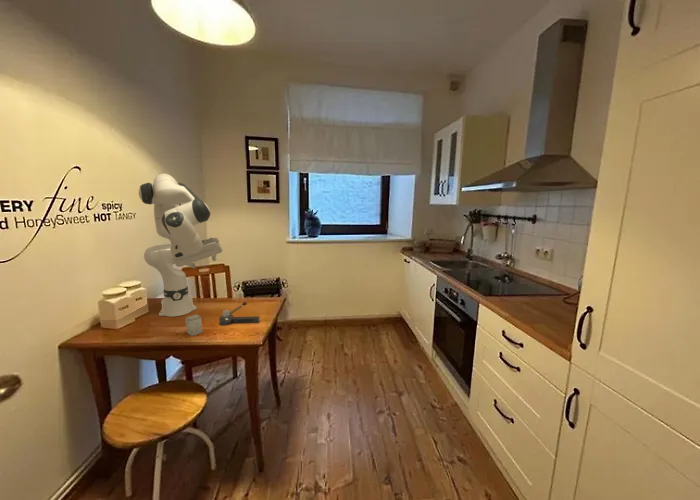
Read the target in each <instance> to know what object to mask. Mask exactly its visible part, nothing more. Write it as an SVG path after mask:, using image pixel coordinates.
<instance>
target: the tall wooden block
mask: <svg viewBox="0 0 700 500" xmlns="http://www.w3.org/2000/svg"><path fill="white" fill-rule="evenodd" d="M185 327H186V334H187V335H189V336H190V337H193V336H196V335H199V334H200V335H201V334H203V323H202V316H200V315H199V314H193V315H189V316H185Z"/></svg>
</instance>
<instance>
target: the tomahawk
mask: <svg viewBox="0 0 700 500" xmlns="http://www.w3.org/2000/svg"><path fill="white" fill-rule="evenodd" d="M246 304H247V301H245V302H243V303H242V304H241V305H244V306H246ZM241 305H239V306H238V307H236V308H235V309H232V310H231V311H230V315H233V313H235V312H236V311H238V310H240V309H241V308H242V306H241Z"/></svg>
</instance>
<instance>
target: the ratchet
mask: <svg viewBox="0 0 700 500" xmlns="http://www.w3.org/2000/svg"><path fill="white" fill-rule="evenodd" d="M230 312H231V311H230V310H229V309H224V310H222V315H221V316H219V318H218V321H219V325H220V326H230V325H233V324H235V325H237V324H239V325H240V324H259V323H260V316H259V315H258V316H234V315H233V314H231V315H230Z"/></svg>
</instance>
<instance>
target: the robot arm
mask: <svg viewBox="0 0 700 500" xmlns="http://www.w3.org/2000/svg"><path fill="white" fill-rule="evenodd" d="M138 197H139V199H140V200H141V202H142V203H144V204H146V205H153V217H154V223H155V229H156V233H157V235H158V236H160V237H161V238H165V239H168V240H169V242H170V243H169V244H160V245H154V246H150V247H147V248H146V249H145V251H144V255H143V258H144V261H145V263H146V264H147V265H149V266H150V267H152V268H154V269H156V270H157V271H158V272H159V273H160V275H161V278H162V282H163V288H164V289H163V296H164V297H163V298H162V299H161V302H160V304H161V310H159V312H158V316H159V317H161V316H162V317H179V316H180V317H181V316H184V315H187V314H189V313H192V312H193V311H195V310H197V309H198V308H197V306H196V305H194V302H193V295H191V294H190V293H189V286H188V285H187V275H186V273H185V272H184V271H183V270H182V269H178V268H181V267H184V266H187V267H189V268H191V269H196V268H197V266H196V264H195V263H196V262H199V261H200V260H205V259H207V258H209V257H211V260H212V261H213V262H216V261H217V255H218V254H221V253H223V247H222V245H221V243H220V240H219V239H218V238H217V237H213V236H212V237H209V238H206V239H202V238H201V236H200V235H199V233H198V232H197V231H196V228H195V227H194V226H195V225H198V224H202V223H205V222H207V221H208V220H209V219H210V217H211V211H210V208H209V206H208V204H207V203H205V201H203V199H202V198H201V199H200V198H199V196H198V195H197V194H196V193H195V192H194V191H193V190H191V189H190V188H189V187H188V186H186V184H184V183H182V182H178V181H177V180H176V179H175V178H174V177H173V176H172V175H171V174H168V173H159V174H157V175H156V176H155V178H154V179H153V182H146V183H143V184H141V185H140V186H139V189H138ZM178 205H179V206H178ZM174 265H175V266H176V267H178V268H175V267H174Z"/></svg>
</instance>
